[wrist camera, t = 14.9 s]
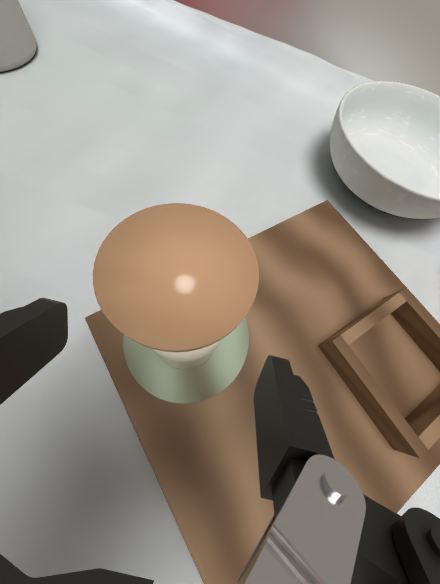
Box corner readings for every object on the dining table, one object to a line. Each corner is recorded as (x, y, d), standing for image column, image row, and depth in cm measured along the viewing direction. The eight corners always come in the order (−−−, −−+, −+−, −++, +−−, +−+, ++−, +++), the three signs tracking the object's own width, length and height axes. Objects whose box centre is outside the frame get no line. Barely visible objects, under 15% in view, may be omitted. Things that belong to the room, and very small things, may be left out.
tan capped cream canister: (210, 381, 19) (241, 371, 7) (140, 363, 19) (59, 321, 7) (231, 298, 22) (276, 196, 11) (170, 282, 22) (147, 160, 10)
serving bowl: (478, 214, 34) (545, 174, 27) (370, 262, 28) (422, 226, 22) (387, 120, 40) (425, 69, 33) (284, 145, 34) (305, 91, 28)
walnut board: (243, 655, 15) (259, 741, 12) (91, 322, 22) (71, 309, 18) (483, 392, 24) (537, 393, 20) (321, 208, 30) (339, 184, 27)
